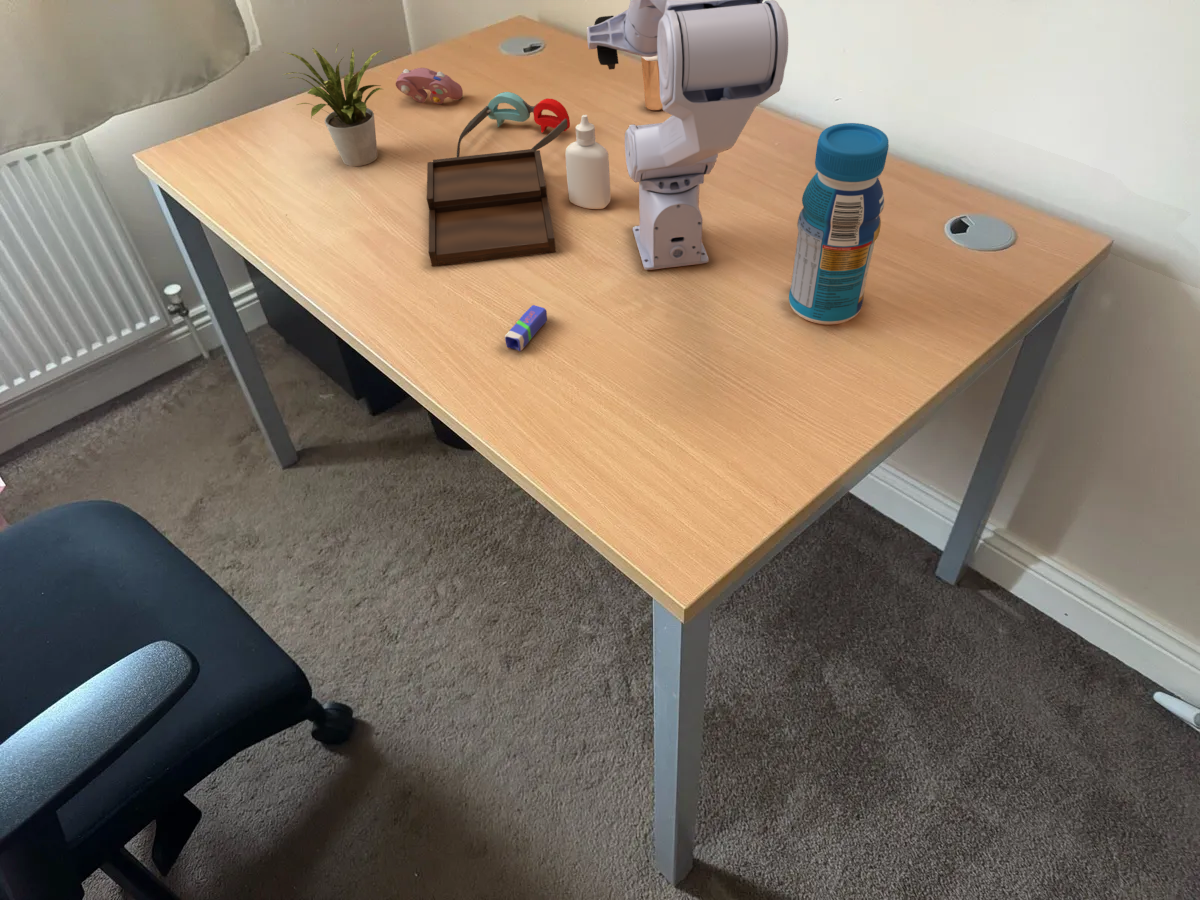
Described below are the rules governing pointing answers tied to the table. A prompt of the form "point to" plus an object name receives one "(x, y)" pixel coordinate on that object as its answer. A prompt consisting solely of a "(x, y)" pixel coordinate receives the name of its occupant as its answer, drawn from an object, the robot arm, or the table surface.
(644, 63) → the frothy drink cup
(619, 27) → the robot arm
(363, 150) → the house plant
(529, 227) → the step shelf
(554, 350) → the table surface
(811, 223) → the beverage bottle
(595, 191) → the eye dropper bottle
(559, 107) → the novelty glasses
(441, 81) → the video game controller
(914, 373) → the table surface
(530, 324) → the eraser
